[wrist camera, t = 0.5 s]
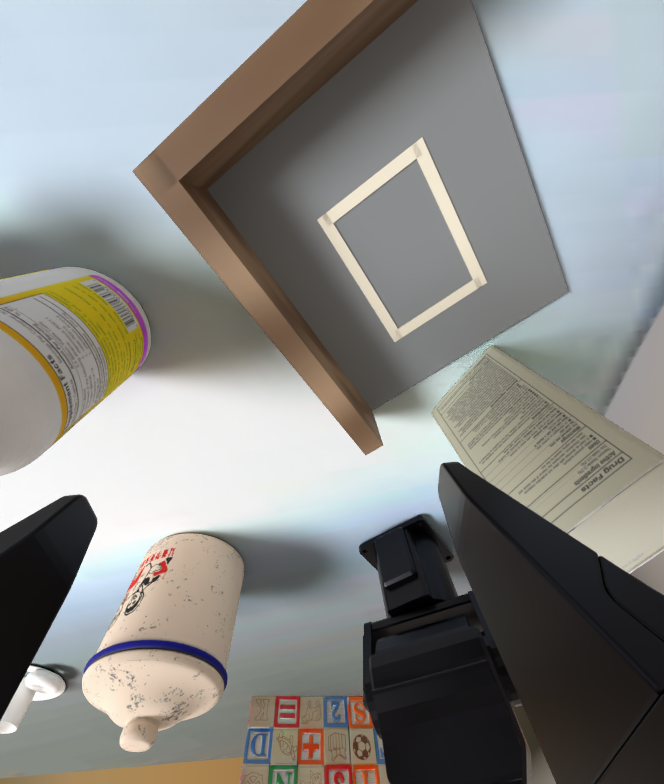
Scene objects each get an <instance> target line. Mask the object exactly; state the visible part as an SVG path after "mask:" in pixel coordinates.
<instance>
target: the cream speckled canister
mask: <svg viewBox="0 0 664 784" xmlns="http://www.w3.org/2000/svg"><path fill="white" fill-rule="evenodd" d="M243 578H244V563H243V560H242V558H241V556H240V555H239V553H238V552H237V551H236V550H235V549H234V548H233V547H232V546H230V545H229V544H227V543H226V542H224V541H222V540H220V539H217V538H215V537H211V536H207V535H202V534H192V533H188V534H178V535H173V536H170V537H167V538H164V539H162V540H160V541H158V542H157V543H155V544H154V545H153V546H152V547H151V548H150V549H149V550H148V552H147V553H146V555H145V557H144V559H143V561H142V563H141V565H140V567H139V569H138V571H137V573H136V575H135V577H134V579H133V581H132V583H131V585H130V587H129V589H128V591H127V593H126V595H125V597H124V599H123V601H122V603H121V605H120V607H119V609H118V611H117V613H116V615H115V617H114V619H113V621H112V623H111V625H110V627H109V629H108V631H107V633H106V635H105V637H104V639H103V641H102V643H101V645H100V647H99V649H98V651H97V653H96V654H95V655H94V656H93V657H92V658H91V659H90V660H89V661H88V663H87V664H86V667H85V669H84V676H83V679H82V689H83V693H84V695H85V697H86V698H87V700H88V701H89V702H90V703H91V704H92V705H93V706H95V707H96V708H97V709H99V710H101V711H103V712H105V713H107V714H108V715H109V717H110V718H111V719H112V720H113V721H114V722H115V723H116V724H117V725H118V726H120V727H122V728H124V729H123V731H122V734H121V737H120V746H121V747H122V748H123V749H124V750H127V751H131V752H142V751H145V750H148V749H149V748H150V747H151V746H152V745H153V744H154V742H155V740H156V737H157V734H158V731H161V730H165V729H168V728H170V727H172V726H174V725H176V724H177V723H179V722H180V721H183V720H187V719H191V718H194V717H197V716H199V715H201V714H203V713H205V712H207V711H208V710H210V709H211V708H212V707H213V706H214V705H215V704H216V703H217V702H218V701H219V699H220V698H221V696H222V694H223V691H224V690H225V688H226V685H227V673H226V667H227V661H228V656H229V651H230V646H231V640H232V635H233V630H234V625H235V620H236V614H237V609H238V604H239V599H240V593H241V588H242V583H243Z"/></svg>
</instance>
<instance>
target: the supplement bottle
mask: <svg viewBox="0 0 664 784" xmlns="http://www.w3.org/2000/svg"><path fill="white" fill-rule="evenodd" d="M150 347H151V331H150V326H149V322H148V319H147V317H146V315H145V313H144V311H143V309H142V307H141V306H140V304H139V303H138V301H137V300H136V299H135V298H134V297H133V295H132V294H131V293H130V292H129V291H128V290H126V289H125V288H124V287H123V286H122V285H120V284H119V283H118V282H116V281H115V280H113V279H111V278H109V277H108V276H105V275H103V274H101V273H99V272H96V271H93V270H90V269H85V268H79V267H61V268H54V269H48V270H43V271H38V272H33V273H28V274H23V275H18V276H13V277H8V278H3V279H0V476H2V475H5V474H9V473H11V472H14V471H17V470H19V469H21V468H23V467H25V466H26V465H28V464H30V463H31V462H33V461H34V460H35V459H37V458H38V457H39V456H41V455H42V454H43V453H44V452H45V451H46V450H48V449H49V448H50V447H51V446H52V445H53V444H54V443H55V442H57V441H58V440H59V439H60V438H61V437H62V436H63V435H64V434H65V433H67V432H68V431H69V430H70V429H71V428H72V427H73V426H74V425H75V424H76V423H78V422H79V421H80V420H81V419H82V418H83V417H84V416H86V415H87V414H88V413H89V412H90V411H91V410H92V409H94V408H95V407H96V406H97V405H98V404H99V403H100V402H101V401H103V400H104V399H105V398H106V397H107V396H108V395H109V394H111V393H112V392H113V391H114V390H115V389H116V388H117V387H118V386H120V385H121V384H122V383H123V382H124V381H125V380H126V379H128V378H129V377H130V376H131V375H132V374H133V373H134V372H135V371H136V370H137V369H138V368H139V367H140V366H141V365H142V364H143V363H144V361H145V360H146V358H147V356H148V353H149V351H150Z"/></svg>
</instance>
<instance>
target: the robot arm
mask: <svg viewBox="0 0 664 784" xmlns="http://www.w3.org/2000/svg"><path fill="white" fill-rule="evenodd" d="M438 493H439V498H440V501H441V505H442V508H443V511H444V514H445V517H446V521H447V524H448V527H449V530H450V534H451V537H452V540H453V543H454V546H455V549H456V552H457V555H458V558H459V560H460V563H461V565H462V567H463V570H464V572H465V574H466V577H467V579H468V581H469V583H470V586H471V588H472V590H473V591H469V592H468V594H465V595H461V596H458V595H457V592H456V589H455V587H454V584H453V582H452V579H451V577H450V574H449V571H448V569H447V566H446V564H445V563H447V562H449V561H451V560H452V559H453V558H454V556H453V554H452V551H451V550H450V549H449V548H448V546H447V545H446V544H445V543H444V541H443V540H442V539H441V538H440V536H439V535H438V534H437V533H436V532H435V530H434V529H433V528H432V527H431V525H430V524H429V523H428V522H427V520H426V519H425V518H424V517H423V516H417V517H415V518H413V519H411V520H409V521H407V522H405V523H403V524H401V525H399V526H397V527H395V528H393V529H391V530H389V531H387V532H385V533H383V534H381V535H379V536H377V537H375V538H373V539H371V540H369V541H367V542H365V543H363V544H361V545H360V546H359V552H360V554H361V555H362V556H363V557H364V558H365V559H366V560H367V561H368V562H369V563H370V564H371V565H372V566H373V567H374V568H375V569H376V570H377V571H378V573H379V579H380V584H381V589H382V595H383V600H384V605H385V610H386V616H387V618H386V619H383V620H380V621H376V622H373V623H372V622H368V623H365V624H364V636H363V691H364V694H363V704H364V707H365V709H366V710H367V711H368V712H369V713H370V716H371V719H372V723H373V725H374V728H375V730H376V733H377V735H378V736H379V738H380V739H382V744H383V751H384V758H385V766H386V774H387V778H388V781H389V783H390V784H531V754H530V750H529V747H528V745H527V742H526V740H525V737H524V735H523V732H522V730H521V727H520V725H519V723H518V721H517V718H516V716H515V713H514V711H513V708H512V707H517V706H521V705H523V708H524V710H525V712H526V715H527V717H528V719H529V721H530V724H531V726H532V728H533V731H534V733H535V735H536V738H537V740H538V742H539V745H540V747H541V749H542V751H543V754H544V756H545V758H546V761H547V763H548V765H549V768H550V770H551V772H552V775H553V777H554V779H555V781H556V784H664V595H662V594H661V593H659V592H657V591H656V590H654V589H653V588H651V587H649V586H648V585H646V584H645V583H643V582H642V581H640V580H639V579H637V578H635V577H634V576H632V575H630V574H629V573H627V572H626V571H624V570H623V569H621V568H620V567H618V566H617V565H615V564H613V563H612V562H610V561H609V560H607V559H606V558H604V557H603V556H598V554H597V553H596V552H595V551H593V550H592V549H590V548H589V547H587V546H586V545H584V544H583V543H581V542H580V541H578V540H577V539H575V538H573V537H572V536H570V535H569V534H567V533H566V532H564V531H563V530H561V529H560V528H558V527H557V526H555V525H554V524H552V523H550V522H549V521H547V520H546V519H544V518H543V517H541V516H540V515H538V514H537V513H535V512H534V511H532V510H531V509H529V508H528V507H526V506H524V505H523V504H521V503H520V502H518V501H517V500H515V499H514V498H512V497H511V496H509V495H508V494H506V493H505V492H503V491H502V490H500V489H498V488H497V487H495V486H494V485H492V484H491V483H489V482H488V481H486V480H485V479H483V478H482V477H480V476H479V475H477V474H476V473H474V472H472V471H471V470H469V469H468V468H466V467H465V466H463V465H462V464H460V463H458V462H449V463H443V464H441V466H440V472H439V484H438ZM96 527H97V517H96V515H95V513H94V511H93V509H92V508H91V506H90V504H89V502H88V500H87V498H86V497H85V496H83V495H69V496H64V497H62V498H60V499H58V500H56V501H55V502H53V503H51V504H49V505H48V506H46V507H44V508H42V509H41V510H39V511H37V512H35V513H34V514H32V515H30V516H28V517H27V518H25V519H23V520H21V521H20V522H18V523H16V524H15V525H13V526H11V527H9V528H8V529H6V530H4V531H2V532H1V533H0V721H1V719H2V717H3V715H4V713H5V711H6V710H7V708H8V706H9V704H10V702H11V700H12V698H13V696H14V694H15V693H16V691H17V689H18V687H19V685H20V683H21V681H22V679H23V678H24V676H25V674H26V672H27V670H28V668H29V666H30V664H31V663H32V661H33V659H34V657H35V655H36V653H37V651H38V649H39V647H40V646H41V644H42V642H43V640H44V638H45V636H46V634H47V632H48V631H49V629H50V627H51V625H52V623H53V621H54V619H55V617H56V615H57V614H58V612H59V610H60V608H61V606H62V604H63V602H64V600H65V598H66V597H67V595H68V593H69V591H70V589H71V586H72V584H73V582H74V580H75V577H76V575H77V573H78V570H79V568H80V566H81V563H82V561H83V558H84V556H85V554H86V551H87V549H88V547H89V544H90V542H91V539H92V537H93V535H94V532H95V530H96Z"/></svg>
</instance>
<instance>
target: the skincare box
mask: <svg viewBox="0 0 664 784" xmlns="http://www.w3.org/2000/svg"><path fill="white" fill-rule="evenodd" d="M431 413H432V415H433V417H434V418H435V420H436V422H437V423H438V425H439V426H440V428H441V429H442V431H443V433H444V434H445V436H446V437H447V439H448V440H449V442H450V443H451V445H452V446H453V448H454V450H455V451H456V453H457V454H458V456H459V457H460V459H461V461H462V462H463V464H464V465H465V467H466V468H468V469H469V470H471V471H472V472H474V473H476V474H477V475H479V476H480V477H482V478H483V479H485V480H486V481H488V482H489V483H491V484H492V485H494V486H495V487H497V488H498V489H500V490H502V491H503V492H505V493H506V494H508V495H509V496H511V497H512V498H514V499H515V500H517V501H518V502H520V503H521V504H523V505H524V506H526V507H528V508H529V509H531V510H532V511H534V512H535V513H537V514H538V515H540V516H541V517H543V518H544V519H546V520H547V521H549V522H550V523H552V524H554V525H555V526H557V527H558V528H560V529H561V530H563V531H564V532H566V533H567V534H569V535H570V536H572V537H573V538H575V539H577V540H578V541H580V542H581V543H583V544H584V545H586V546H587V547H589V548H590V549H592V550H593V551H595V552H596V553H597V554H598V556H603V557H604V558H606V559H607V560H609V561H610V562H612V563H613V564H615V565H617V566H618V567H620V568H621V569H623V570H624V571H626V572H627V573H629V574H630V573H631V572H633V571H634V570H635V569H637V568H638V567H640V566H642V565H643V564H644V563H646V562H648V561H649V560H651V559H652V558H653V557H655V556H656V555H657V554H659V553H661V552H662V551H664V455H663V454H662V453H660V452H659V451H657V450H655V449H654V448H652V447H651V446H649V445H648V444H646V443H644V442H643V441H641V440H640V439H638V438H636V437H635V436H633V435H632V434H630V433H628V432H627V431H625V430H624V429H622V428H620V427H619V426H618V425H616V424H614V423H613V422H611V421H610V420H608V419H607V418H605V417H604V416H602V415H601V414H599V413H598V412H596V411H594V410H593V409H591V408H590V407H588V406H587V405H585V404H583V403H582V402H580V401H579V400H577V399H576V398H574V397H572V396H571V395H569V394H568V393H566V392H565V391H563V390H562V389H560V388H558V387H557V386H555V385H554V384H552V383H551V382H549V381H548V380H546V379H545V378H543V377H541V376H540V375H538V374H537V373H535V372H534V371H532V370H530V369H529V368H527V367H526V366H524V365H523V364H521V363H520V362H518V361H517V360H515V359H514V358H512V357H511V356H509V355H507V354H506V353H504V352H503V351H501V350H499V349H498V348H496V347H494V346H490V347H489V348H488V349H487V350H486V351H485V352H484V353H483V354H482V355H481V356H480V357H479V358H478V360H477V361H476V362H475V363H474V364H473V365H472V366H471V367H470V368H469V369H468V370H467V372H466V373H465V374H464V375H463V376H462V377H461V378H460V379H459V381H458V382H457V383H456V384H455V385H454V386H453V387H452V388H451V389H450V390H449V392H448V393H447V394H446V395H445V396H444V397H443V398H442V400H441V401H440V402H439V403H438V404H437V406H436V407H435V408H434V409H433V410H432V412H431Z"/></svg>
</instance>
